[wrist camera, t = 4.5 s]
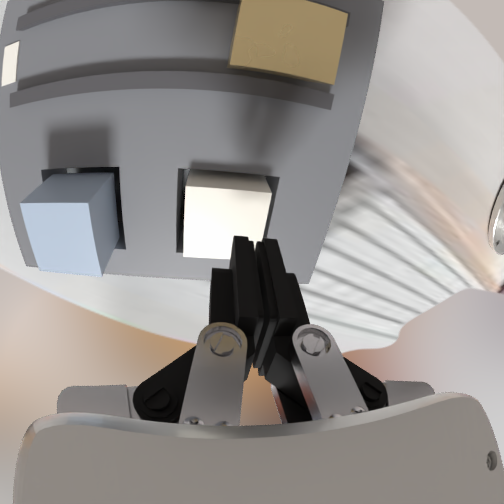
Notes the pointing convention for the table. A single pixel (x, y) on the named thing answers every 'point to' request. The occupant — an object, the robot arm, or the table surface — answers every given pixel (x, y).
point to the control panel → (175, 120)
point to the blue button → (73, 223)
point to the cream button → (223, 211)
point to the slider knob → (288, 39)
